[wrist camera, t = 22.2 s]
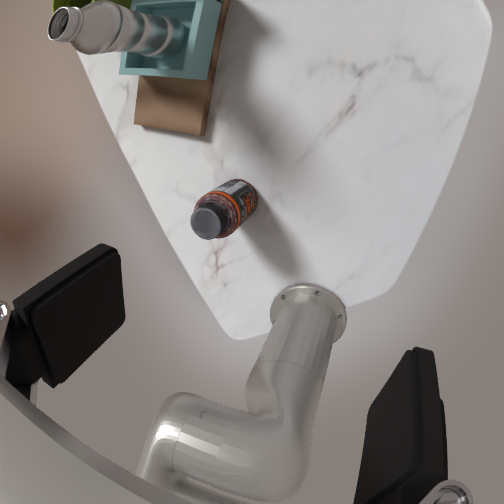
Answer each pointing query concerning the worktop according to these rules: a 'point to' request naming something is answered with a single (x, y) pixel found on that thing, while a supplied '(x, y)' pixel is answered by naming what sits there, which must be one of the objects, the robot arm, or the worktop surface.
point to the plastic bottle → (116, 30)
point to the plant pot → (84, 3)
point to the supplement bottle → (224, 209)
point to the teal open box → (194, 44)
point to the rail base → (178, 95)
